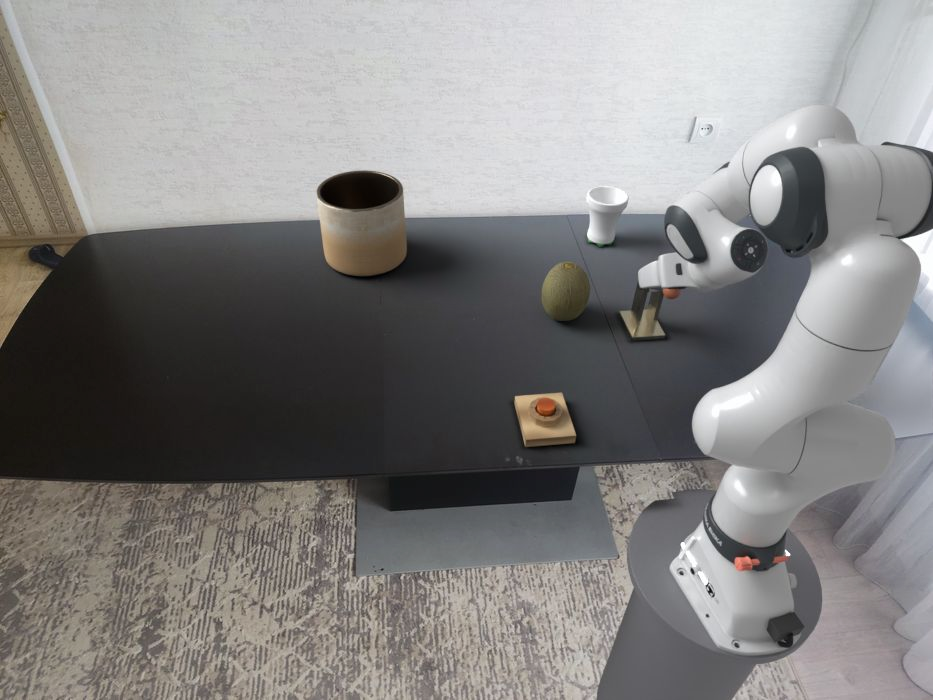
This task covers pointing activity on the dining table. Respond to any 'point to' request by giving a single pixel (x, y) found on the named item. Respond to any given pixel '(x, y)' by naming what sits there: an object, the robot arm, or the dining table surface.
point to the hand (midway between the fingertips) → (675, 280)
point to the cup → (604, 213)
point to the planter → (362, 222)
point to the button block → (544, 421)
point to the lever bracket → (643, 316)
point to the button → (545, 407)
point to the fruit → (565, 291)
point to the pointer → (666, 292)
